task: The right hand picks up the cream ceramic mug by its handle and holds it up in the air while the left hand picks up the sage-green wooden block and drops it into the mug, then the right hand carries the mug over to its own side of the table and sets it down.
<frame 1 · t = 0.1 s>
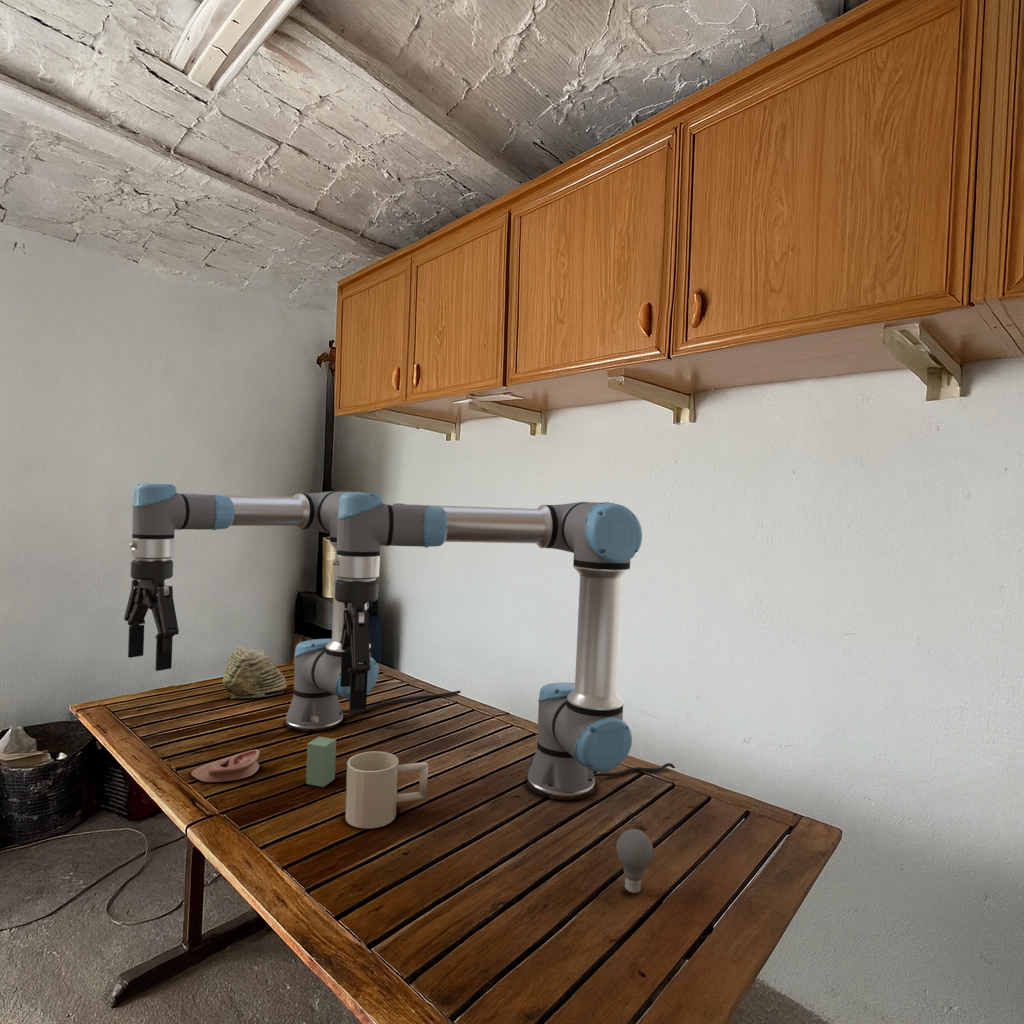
left hand: (149, 662, 129), 28 cm above the table, fingers open, 13 cm apart
right hand: (352, 697, 113), 28 cm above the table, fingers open, 13 cm apart
mug: (370, 815, 127), on the table
fossil: (254, 694, 198), on the table
light bulb: (632, 891, 106), on the table
block: (320, 781, 141), on the table
anatomical model: (225, 772, 143), on the table
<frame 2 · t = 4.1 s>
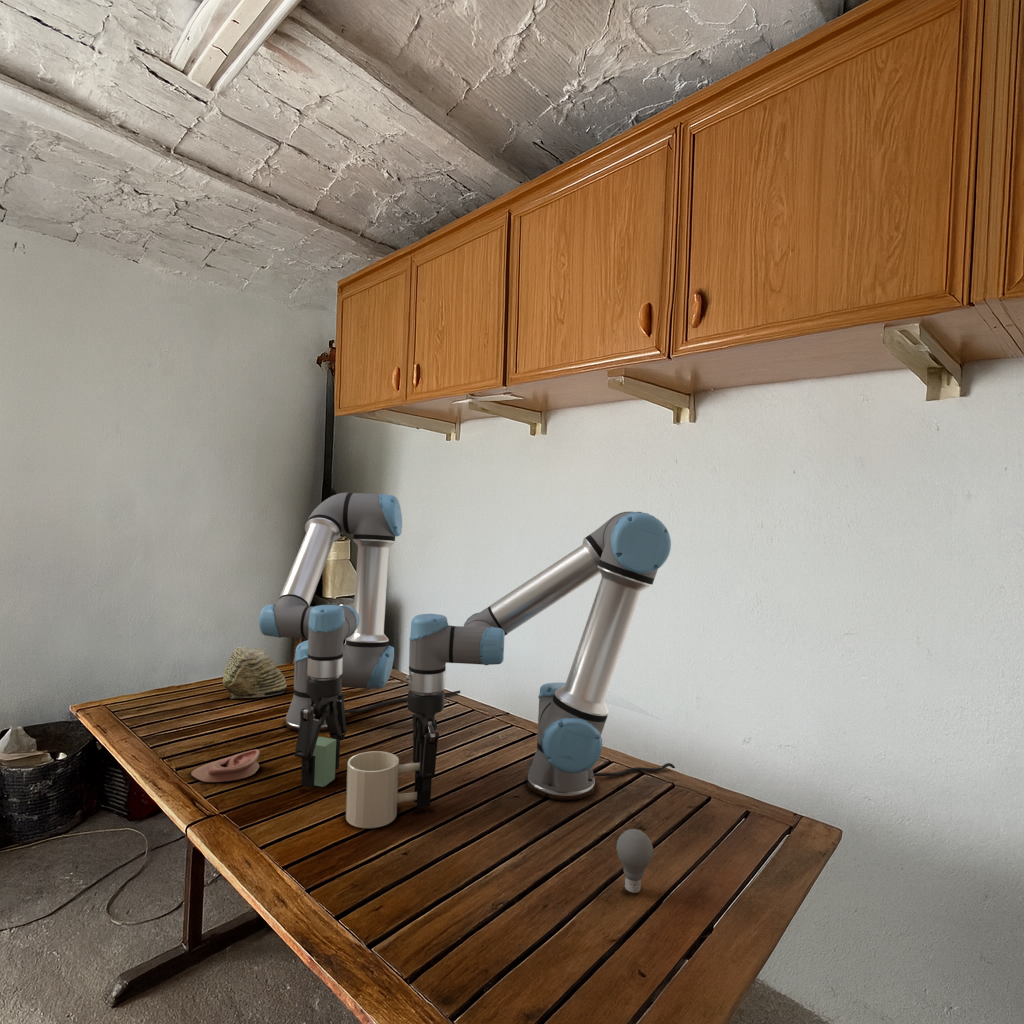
left hand: (320, 776, 141), 1 cm above the table, fingers open, 9 cm apart
right hand: (422, 803, 131), 1 cm above the table, fingers closed on mug, 2 cm apart
mug: (371, 815, 127), on the table, touching right hand
everything else where it was.
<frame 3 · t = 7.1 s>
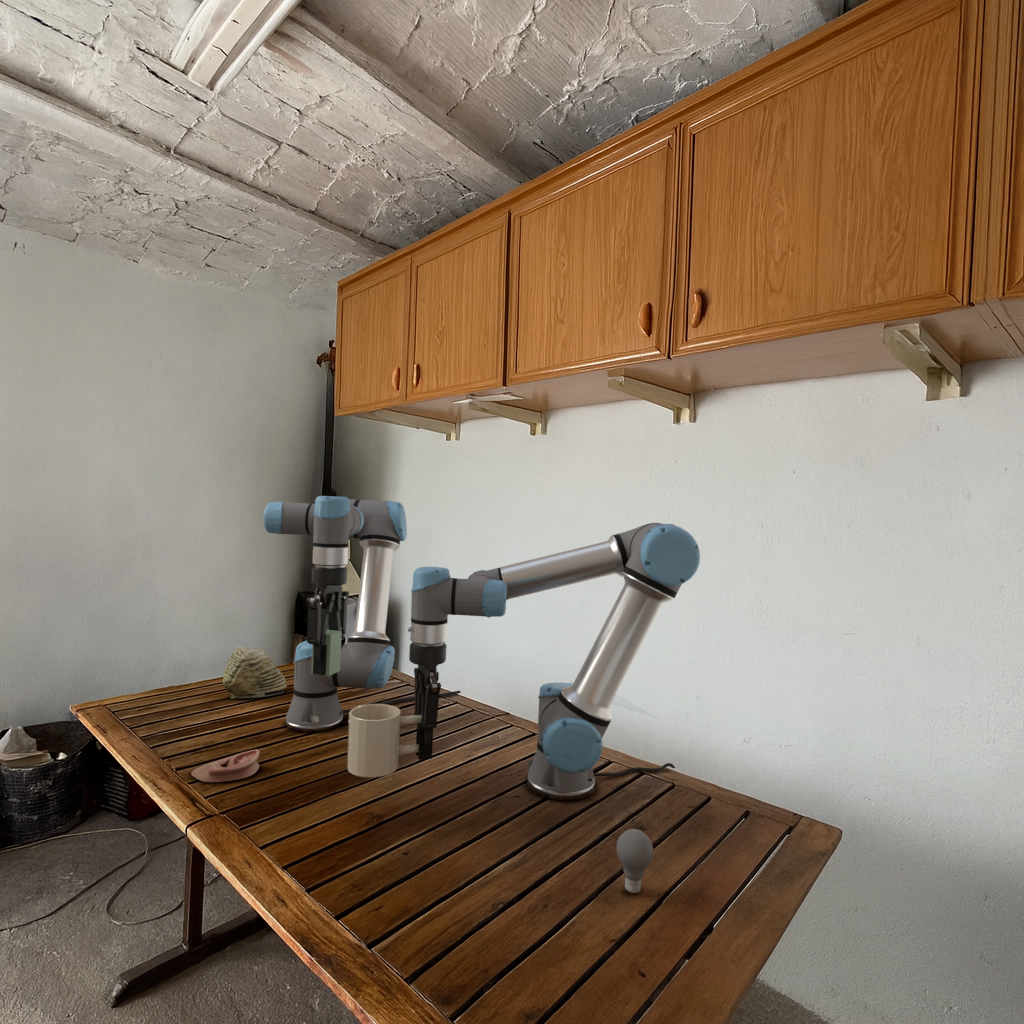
left hand: (325, 671, 140), 25 cm above the table, fingers closed on block, 4 cm apart
right hand: (423, 756, 130), 11 cm above the table, fingers closed on mug, 2 cm apart
mug: (373, 766, 127), point 10 cm above the table, touching right hand
block: (325, 672, 140), point 25 cm above the table, touching left hand
everything else where it was.
when the left hand's fingers open (23 cm above the table, at t = 9.4 s): block drops 13 cm, resting on mug.
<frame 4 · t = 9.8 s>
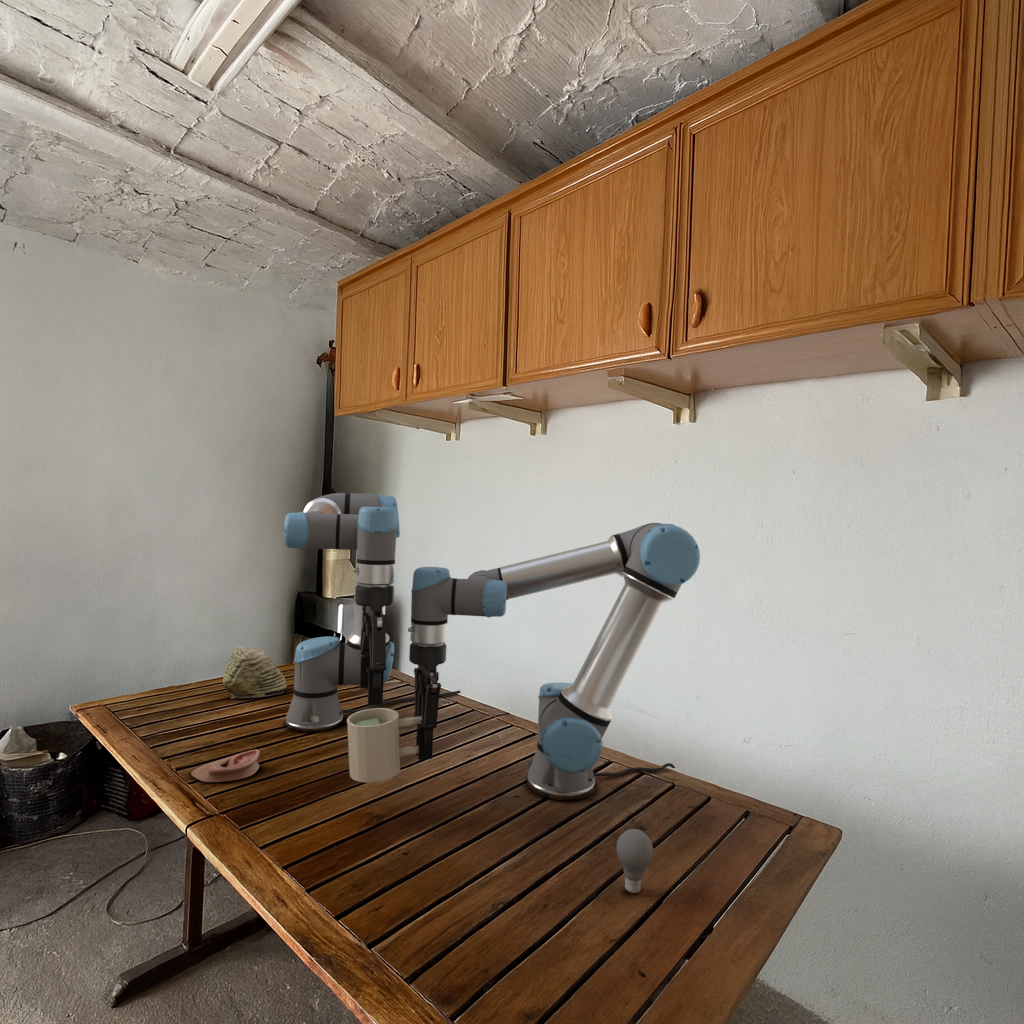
left hand: (370, 695, 126), 24 cm above the table, fingers open, 10 cm apart
right hand: (423, 756, 130), 11 cm above the table, fingers closed on mug, 2 cm apart
mug: (375, 770, 127), point 9 cm above the table, touching block, right hand
block: (369, 767, 126), point 10 cm above the table, touching mug
everything else where it was.
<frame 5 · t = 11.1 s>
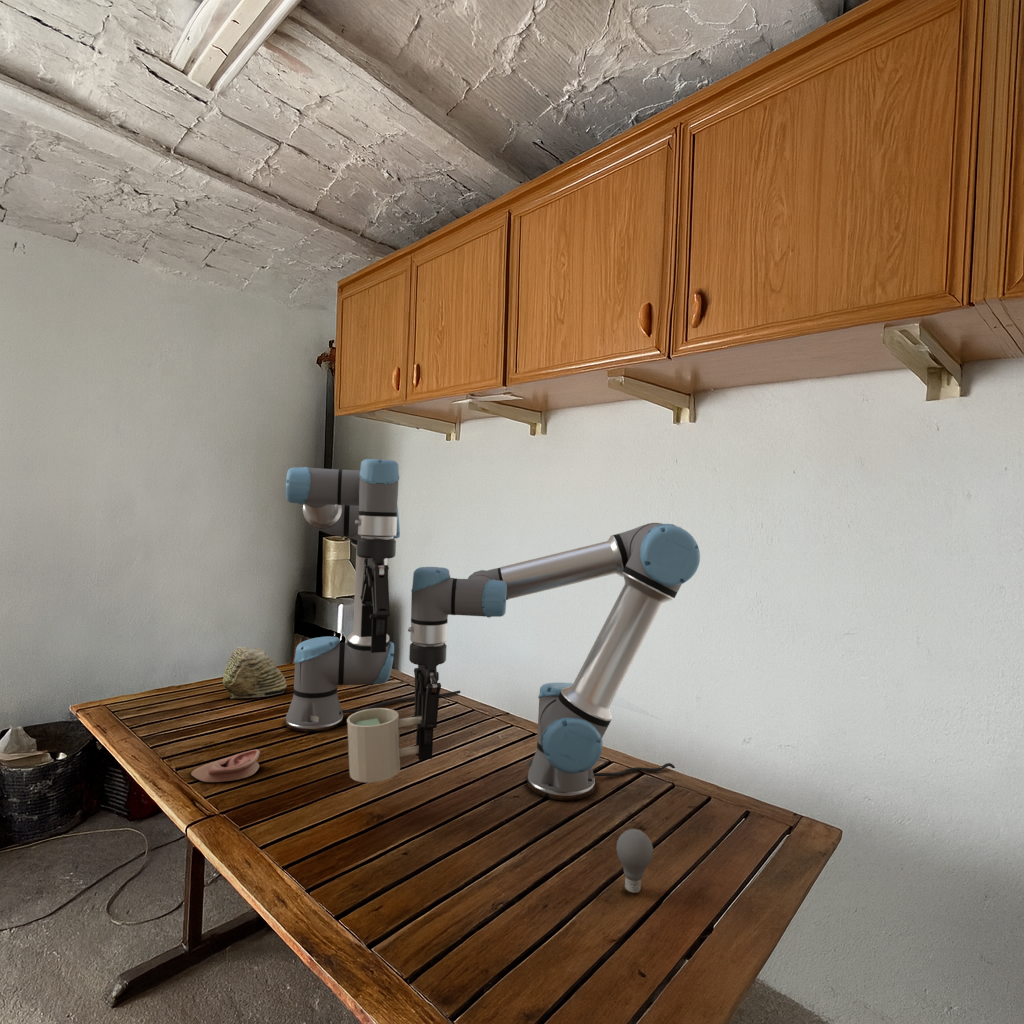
left hand: (372, 644, 126), 35 cm above the table, fingers open, 13 cm apart
right hand: (423, 756, 130), 11 cm above the table, fingers closed on mug, 2 cm apart
mug: (375, 770, 127), point 9 cm above the table, touching block, right hand
everything else where it was.
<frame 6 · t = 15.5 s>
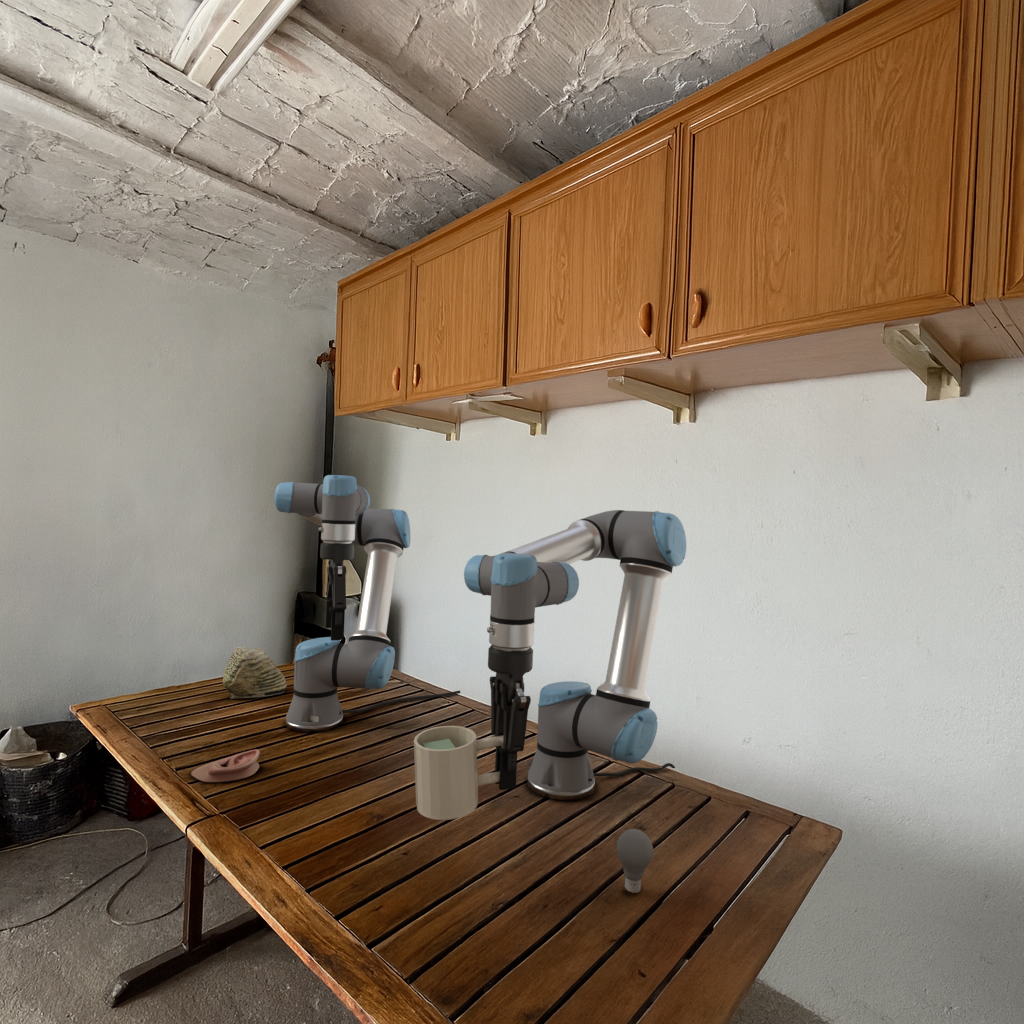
left hand: (334, 633, 147), 32 cm above the table, fingers open, 13 cm apart
right hand: (505, 784, 107), 16 cm above the table, fingers closed on mug, 2 cm apart
mug: (447, 803, 103), point 15 cm above the table, touching block, right hand
block: (441, 800, 103), point 15 cm above the table, touching mug
everything else where it was.
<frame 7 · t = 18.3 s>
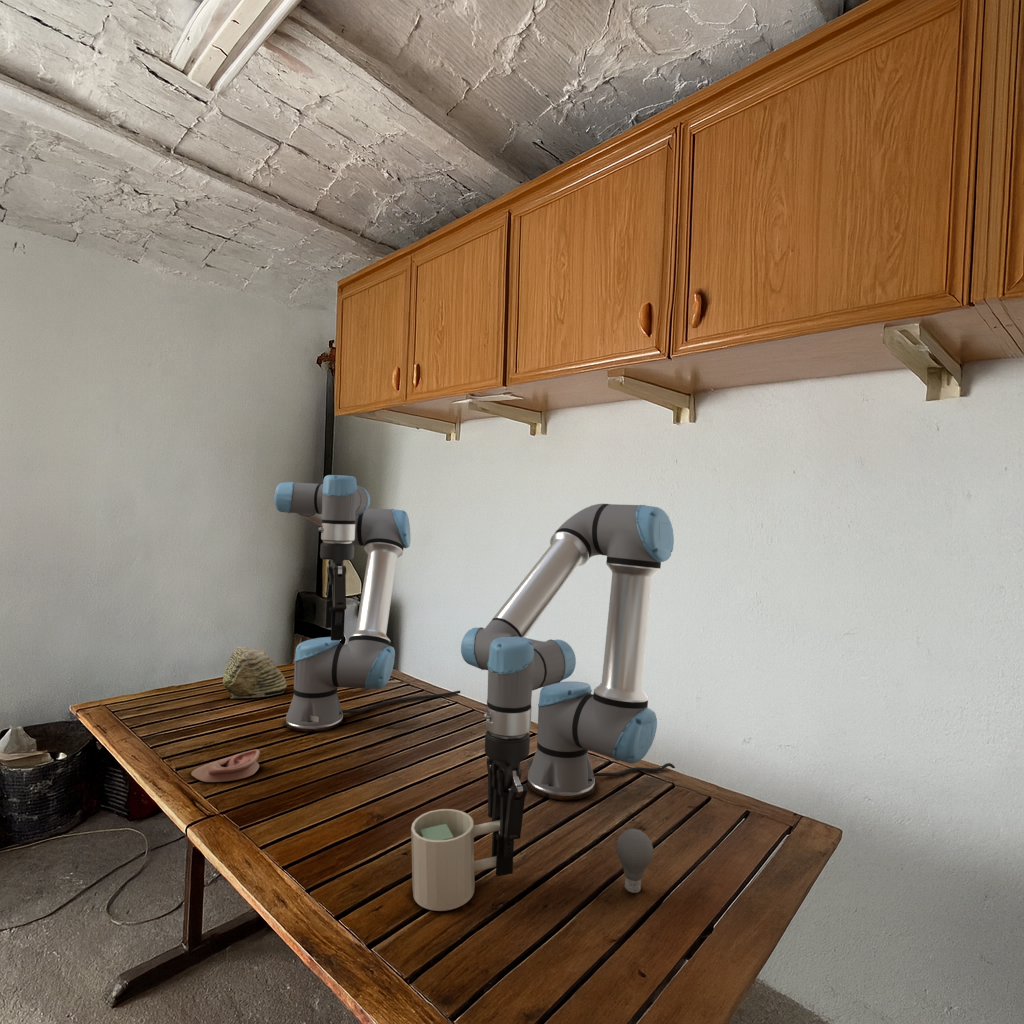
left hand: (334, 633, 147), 32 cm above the table, fingers open, 13 cm apart
right hand: (501, 869, 107), 2 cm above the table, fingers closed on mug, 2 cm apart
mug: (444, 890, 103), on the table, touching block, right hand
block: (437, 887, 103), point 1 cm above the table, touching mug
everything else where it was.
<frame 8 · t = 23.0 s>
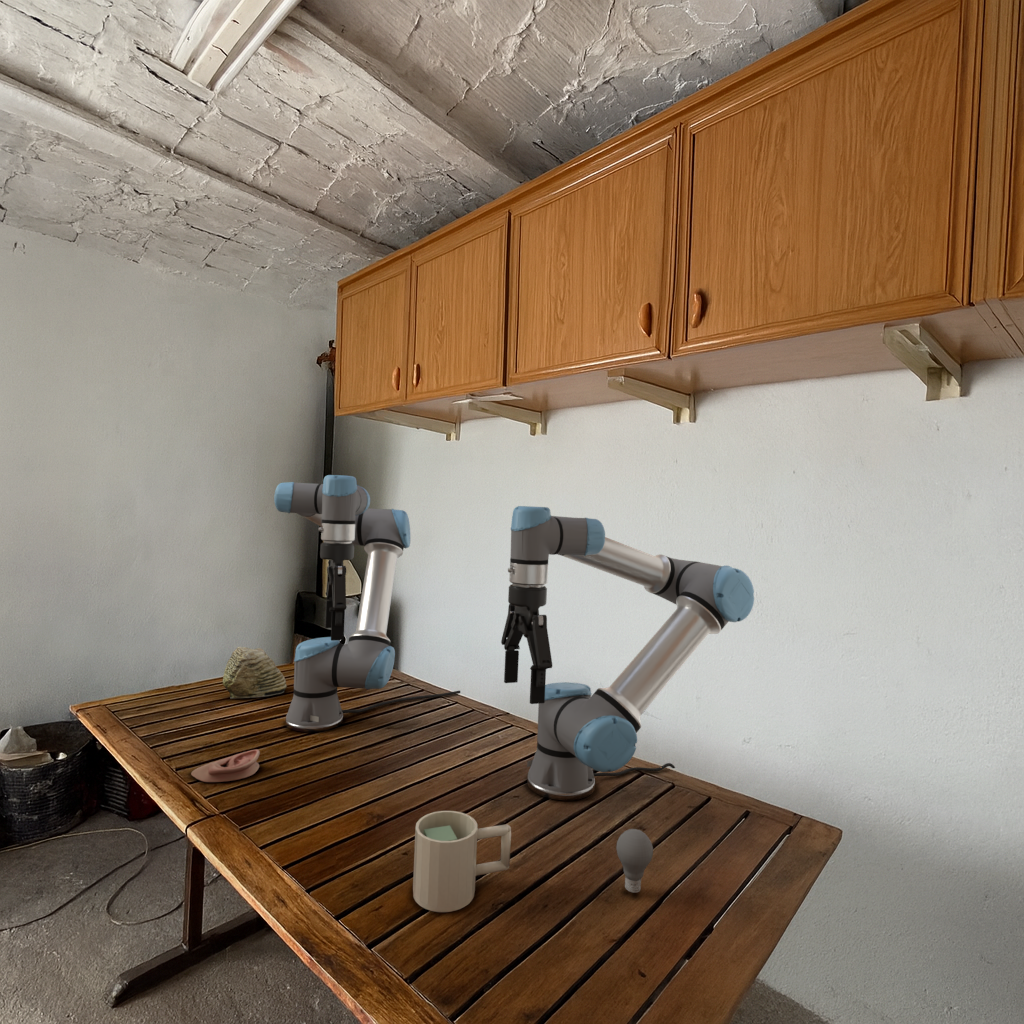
left hand: (334, 633, 147), 32 cm above the table, fingers open, 13 cm apart
right hand: (523, 692, 125), 27 cm above the table, fingers open, 13 cm apart
mug: (444, 892, 103), on the table, touching block
everything else where it was.
at the end: block inside the target area in the mug (1.0 cm from its centre), point 0.8 cm above the mug's base; mug inside the target area (0.4 cm from its centre), on the table; the left hand is holding nothing; the right hand is holding nothing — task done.
